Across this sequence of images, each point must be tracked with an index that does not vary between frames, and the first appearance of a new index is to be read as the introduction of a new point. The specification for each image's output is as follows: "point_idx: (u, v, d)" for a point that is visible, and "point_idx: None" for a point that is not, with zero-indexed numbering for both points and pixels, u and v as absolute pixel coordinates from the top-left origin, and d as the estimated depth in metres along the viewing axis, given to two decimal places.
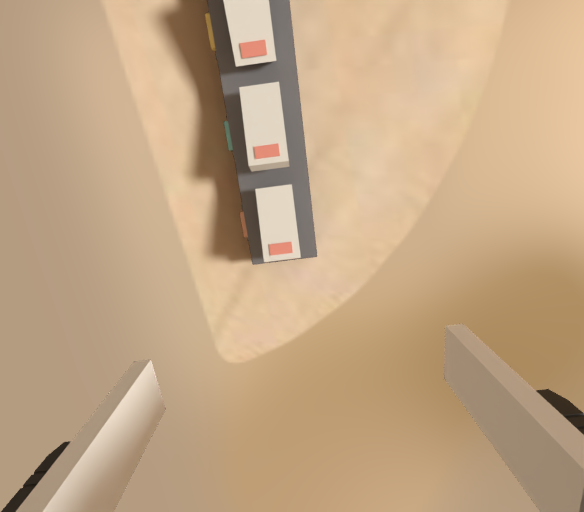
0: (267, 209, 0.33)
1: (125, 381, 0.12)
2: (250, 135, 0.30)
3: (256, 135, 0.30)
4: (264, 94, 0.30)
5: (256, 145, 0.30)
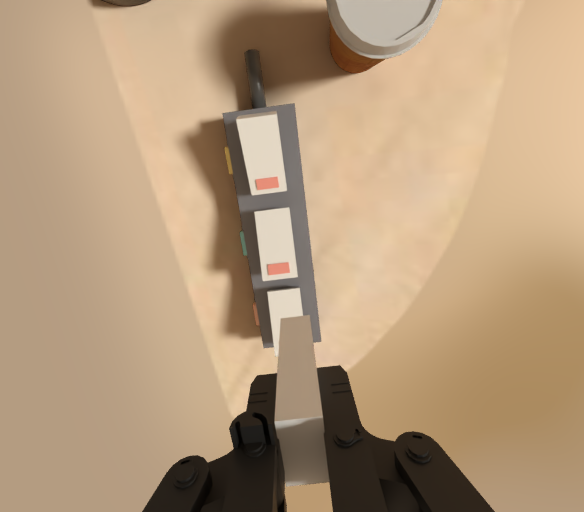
0: (278, 310, 0.38)
1: (286, 331, 0.14)
2: (264, 254, 0.35)
3: (269, 254, 0.35)
4: (276, 218, 0.35)
5: (269, 263, 0.35)
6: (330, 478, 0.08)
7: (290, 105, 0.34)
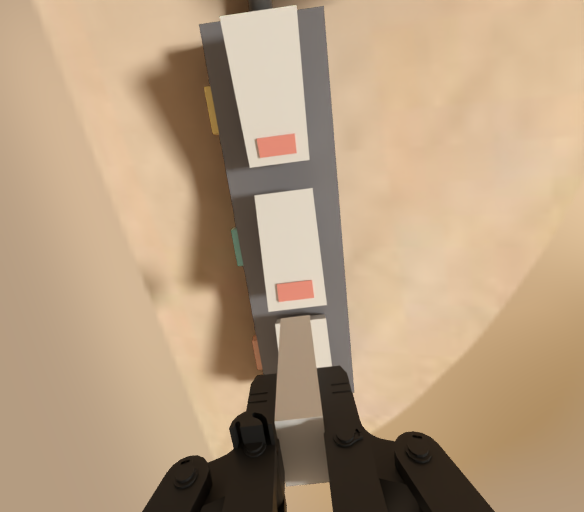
0: None
1: (286, 331, 0.14)
2: (271, 266, 0.21)
3: (279, 266, 0.21)
4: (291, 206, 0.21)
5: (279, 281, 0.21)
6: (330, 478, 0.08)
7: (316, 10, 0.19)
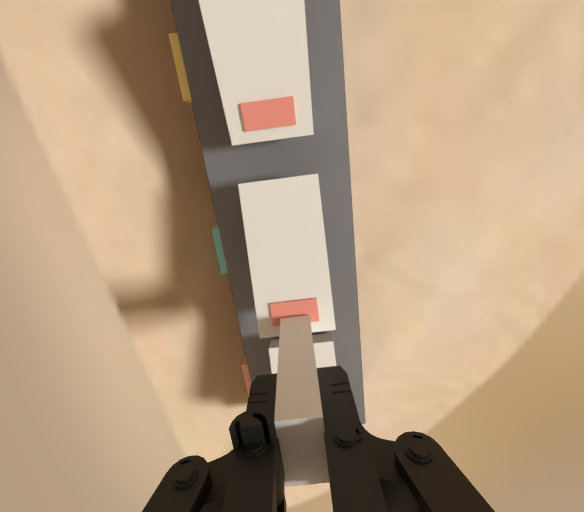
0: None
1: (286, 331, 0.14)
2: (262, 280, 0.16)
3: (273, 280, 0.16)
4: (288, 199, 0.15)
5: (274, 300, 0.16)
6: (330, 478, 0.08)
7: None
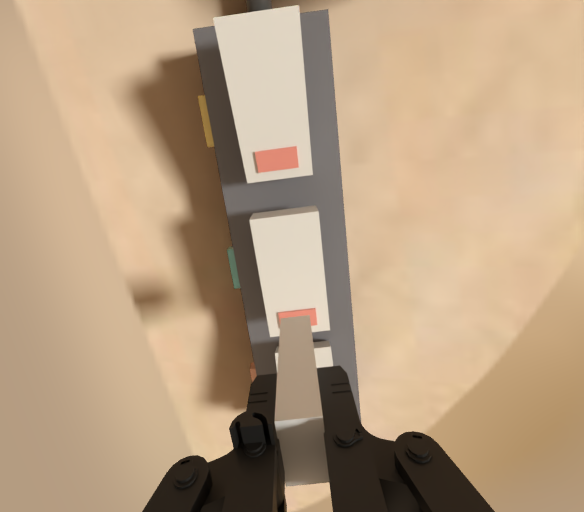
0: None
1: (286, 331, 0.14)
2: (271, 295, 0.19)
3: (281, 295, 0.19)
4: (293, 232, 0.18)
5: (281, 310, 0.20)
6: (330, 478, 0.08)
7: (320, 13, 0.18)
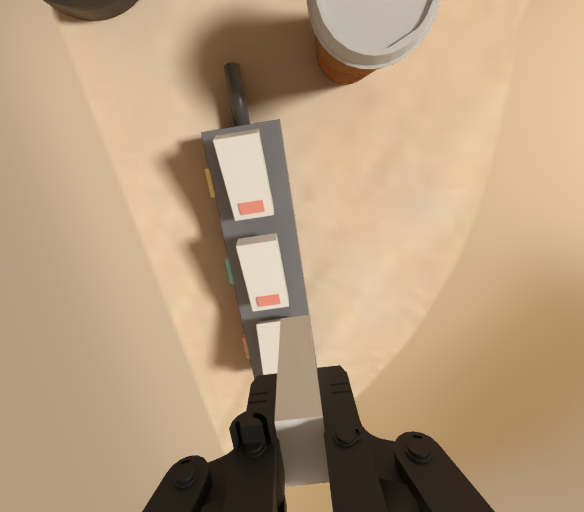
0: (268, 344, 0.34)
1: (286, 331, 0.14)
2: (252, 287, 0.32)
3: (257, 287, 0.32)
4: (262, 252, 0.30)
5: (258, 295, 0.33)
6: (330, 478, 0.08)
7: (275, 121, 0.31)
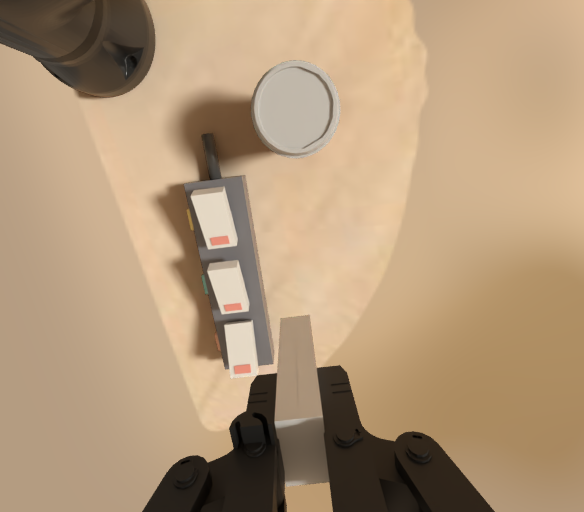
0: (233, 340, 0.46)
1: (286, 331, 0.14)
2: (220, 298, 0.43)
3: (224, 298, 0.44)
4: (226, 275, 0.41)
5: (225, 304, 0.44)
6: (330, 478, 0.08)
7: (238, 177, 0.42)
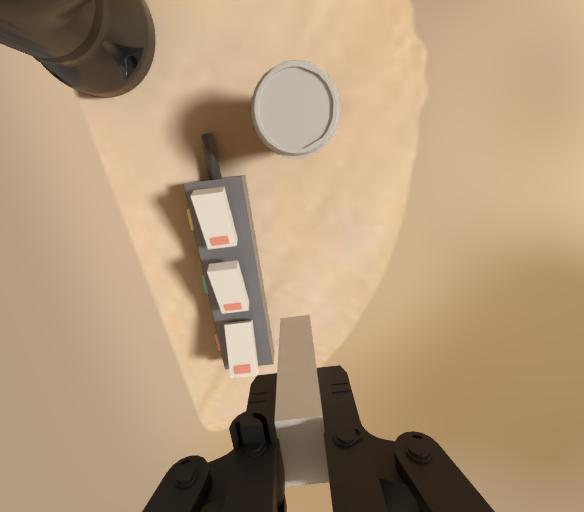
0: (233, 340, 0.46)
1: (286, 331, 0.14)
2: (220, 298, 0.44)
3: (224, 298, 0.44)
4: (226, 275, 0.41)
5: (225, 303, 0.44)
6: (330, 478, 0.08)
7: (238, 177, 0.42)
